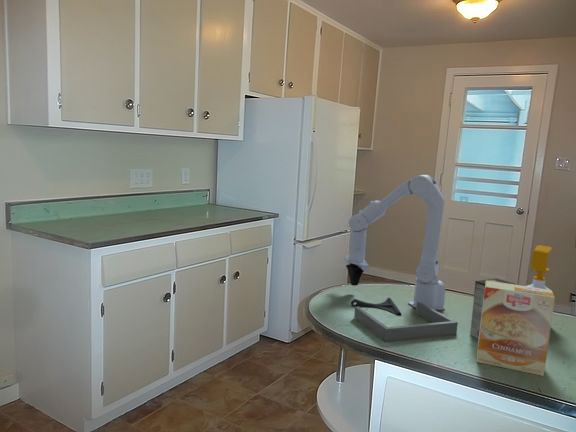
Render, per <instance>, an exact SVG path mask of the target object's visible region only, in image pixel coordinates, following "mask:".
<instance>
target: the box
mask: <svg viewBox="0 0 576 432" xmlns="http://www.w3.org/2000/svg"><path fill="white" fill-rule="evenodd" d="M415 309H416V310H415V313H416V314H417V315H418V316H420V317H422V318H424V319H426V320H427V321H429V323H418V324H410V325H409V324H407V325H398V326H397V325H396V326H387V325H386V324H384V323H383V322H381V321H379V320H378V319H377V318H375V317H374V316H372V315H371V314H370V313H368V312H367V311H365V310H364V309H362V308H361V307H360V306H354V315H353V316H354V319H355V320H356V321H357V322H359V323H360V324H361V325H363V326H364V327H365V328H367V329H368V330H369V331H371V332H372V333H373V334H375V336H377V337H379V339H381V340H382V341H384V342H385V343H386V342H394V341H404V340H412V339H413V340H414V339H424V338H432V337H440V336H441V337H442V336H450V335H451V336H452V335H457V334H458V333H457V332H458V324H459V323H458V321H456V320H454V319H452V318H450V317H448V316H447V315H445V314H443V313H441V312H439V311H438V310H434V309H432V308H430V307H428V306H426V305H425V304H423V303H421V302H417V306H416V308H415Z"/></svg>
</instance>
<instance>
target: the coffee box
mask: <svg viewBox="0 0 576 432" xmlns="http://www.w3.org/2000/svg"><path fill="white" fill-rule="evenodd" d="M486 280H488V281H494V282H501V283H507V284H514V285H517V284H516V283H514V282H510V281H508V280H503V279H500V278H491V279H481V280H475V283H474V293H473V303H472V312H471V313H472V314H471V320H470V321H471V322H470V323H471V324H470V332H469V335H470V336H471V337H475V338H476V339H479V330H480V323H481V315H482V307H483V298H484V290H485V283H486Z"/></svg>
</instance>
